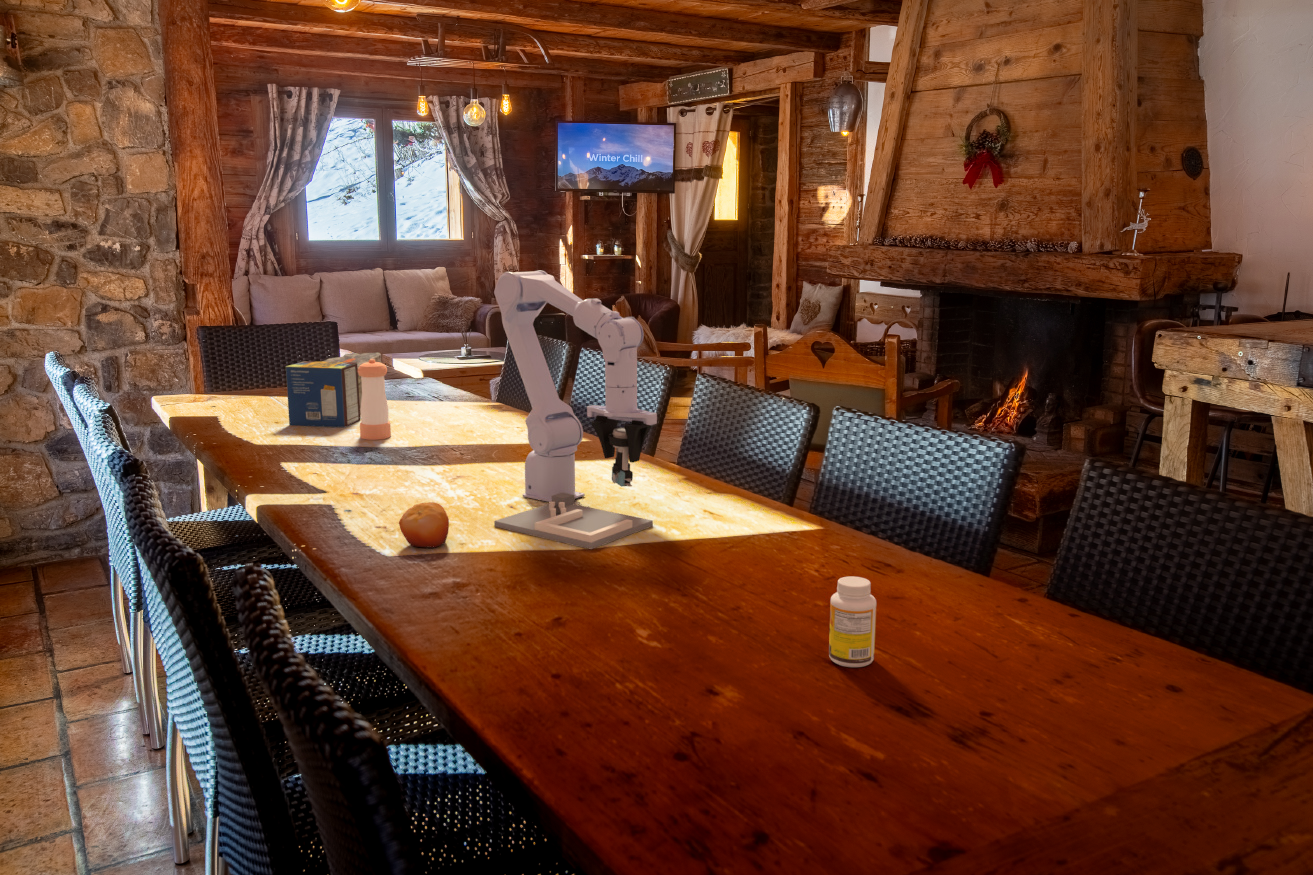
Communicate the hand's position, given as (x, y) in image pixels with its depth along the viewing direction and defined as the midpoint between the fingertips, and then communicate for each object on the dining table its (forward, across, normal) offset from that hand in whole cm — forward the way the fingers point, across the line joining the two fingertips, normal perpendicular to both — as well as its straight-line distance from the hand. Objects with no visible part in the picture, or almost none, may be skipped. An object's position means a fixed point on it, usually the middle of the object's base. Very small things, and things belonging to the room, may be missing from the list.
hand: (621, 459), depth 198 cm
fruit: (+10, -14, -35) cm, 39 cm away
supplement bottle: (+11, +64, -37) cm, 75 cm away
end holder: (+9, +3, -14) cm, 17 cm away
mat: (+10, -1, -12) cm, 16 cm away
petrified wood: (+10, -131, +42) cm, 138 cm away
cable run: (+9, -8, -8) cm, 14 cm away
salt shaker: (+10, -91, +18) cm, 93 cm away
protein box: (+10, -116, +22) cm, 118 cm away
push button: (+5, 0, 0) cm, 5 cm away
